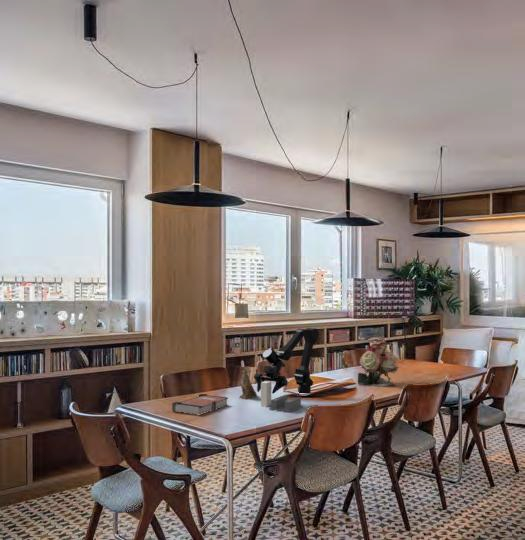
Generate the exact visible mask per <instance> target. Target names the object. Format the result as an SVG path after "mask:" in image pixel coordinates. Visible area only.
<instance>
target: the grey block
mask: <svg viewBox="0 0 525 540" xmlns="http://www.w3.org/2000/svg"><path fill="white" fill-rule="evenodd" d="M271 400H272V381H266V380H265V381H264V382H261V389H260V406H261V407H264V406H267V407H270V406H271ZM269 405H270V406H269Z"/></svg>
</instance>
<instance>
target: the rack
mask: <svg viewBox="0 0 525 540" xmlns="http://www.w3.org/2000/svg"><path fill="white" fill-rule="evenodd" d="M301 401H302V397H293V398H290V399H288V396H287V395H281V396H279V397H278V396H277V397H276V398H273V399H272V398H271V405H270V407H269V408H268V409H269V411H273V410H277V411H276V412H281V411H285V412H284V413H289V412H290V413H292V411H293V412H294V411H297V410H300V409H301V408H303V405H302V402H301Z"/></svg>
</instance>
